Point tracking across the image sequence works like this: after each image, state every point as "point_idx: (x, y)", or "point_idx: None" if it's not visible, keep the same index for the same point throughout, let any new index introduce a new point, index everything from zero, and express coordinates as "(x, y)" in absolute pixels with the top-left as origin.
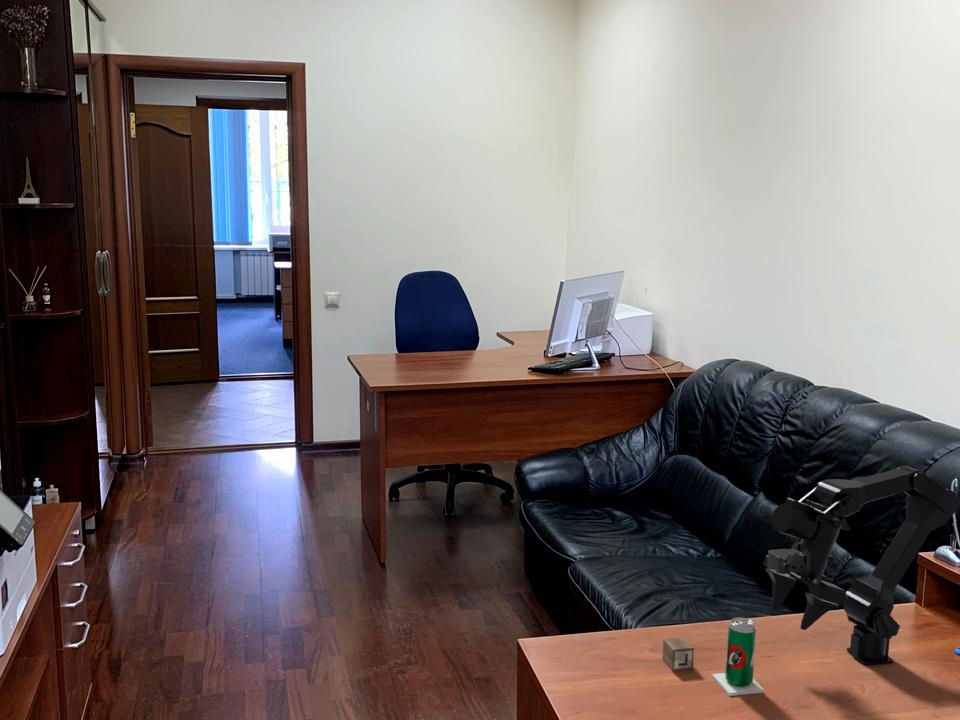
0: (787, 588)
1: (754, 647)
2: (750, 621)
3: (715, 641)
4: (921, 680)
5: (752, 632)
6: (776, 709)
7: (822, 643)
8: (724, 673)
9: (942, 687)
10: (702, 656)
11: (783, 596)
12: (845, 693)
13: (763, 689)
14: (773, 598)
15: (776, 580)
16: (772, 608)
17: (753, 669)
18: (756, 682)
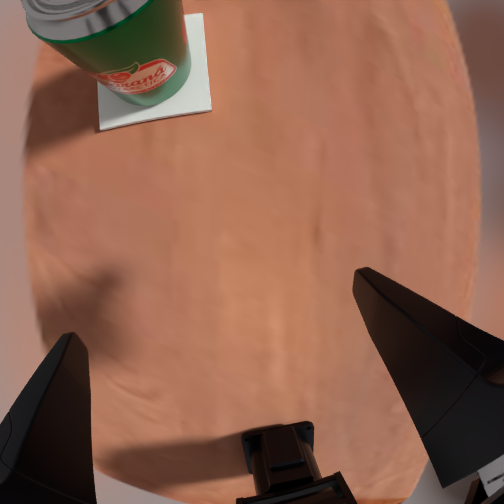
0: (428, 424)
1: (75, 64)
2: (95, 4)
3: (405, 113)
4: (184, 480)
5: (28, 20)
6: (31, 143)
7: (353, 386)
8: (202, 43)
9: (163, 490)
10: (325, 36)
11: (399, 373)
12: (109, 350)
13: (100, 128)
14: (405, 301)
15: (500, 392)
16: (360, 269)
17: (117, 94)
18: (139, 119)
